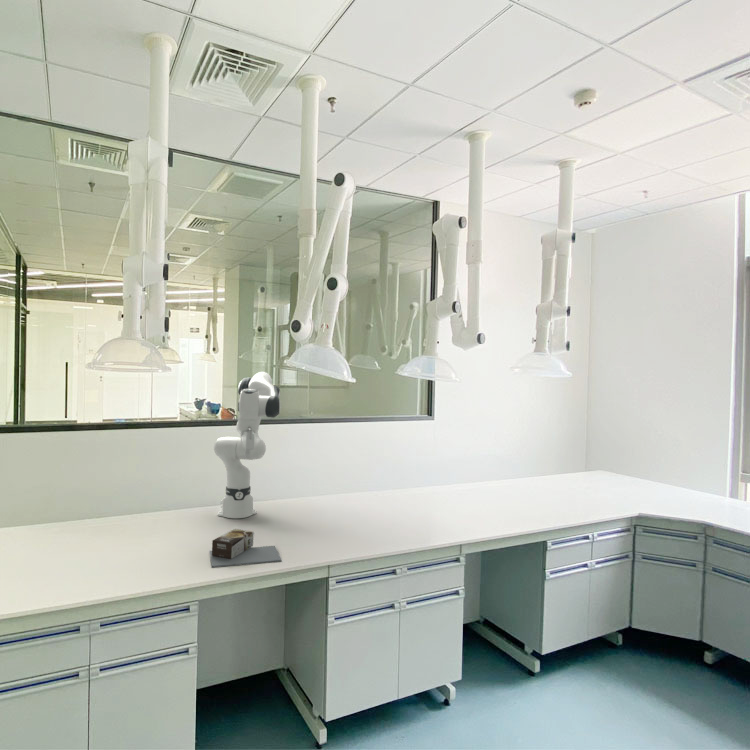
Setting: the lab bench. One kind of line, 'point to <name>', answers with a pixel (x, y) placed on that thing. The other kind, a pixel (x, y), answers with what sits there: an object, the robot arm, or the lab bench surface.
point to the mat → (248, 557)
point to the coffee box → (232, 543)
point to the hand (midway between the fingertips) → (247, 457)
